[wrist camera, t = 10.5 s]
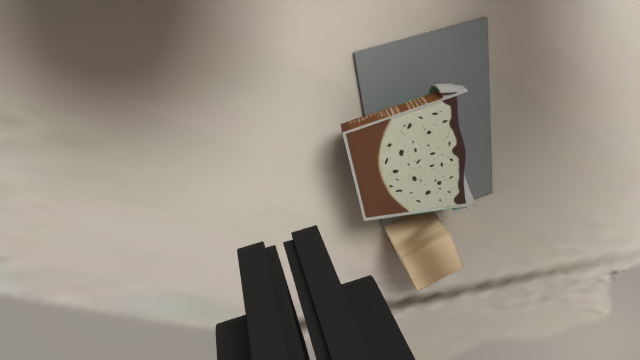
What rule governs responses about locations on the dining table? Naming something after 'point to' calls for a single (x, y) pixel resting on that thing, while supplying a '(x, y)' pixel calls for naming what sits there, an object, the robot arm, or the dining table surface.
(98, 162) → the dining table surface
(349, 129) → the food container
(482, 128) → the mat
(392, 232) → the oak block
